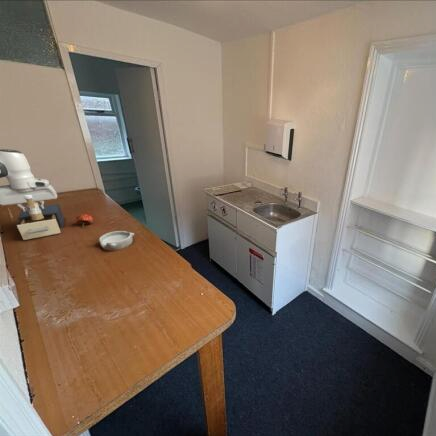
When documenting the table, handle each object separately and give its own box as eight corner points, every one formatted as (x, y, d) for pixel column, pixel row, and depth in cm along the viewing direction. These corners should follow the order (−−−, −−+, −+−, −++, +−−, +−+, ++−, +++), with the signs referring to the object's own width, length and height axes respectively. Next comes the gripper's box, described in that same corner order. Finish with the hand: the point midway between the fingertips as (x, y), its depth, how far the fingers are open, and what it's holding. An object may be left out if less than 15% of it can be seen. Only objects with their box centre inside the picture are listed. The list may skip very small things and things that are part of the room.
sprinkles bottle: (29, 220, 119) (18, 195, 113) (36, 217, 123) (26, 192, 117) (39, 220, 119) (29, 195, 114) (46, 217, 124) (36, 192, 118)
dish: (117, 253, 110) (114, 244, 108) (93, 249, 112) (90, 240, 110) (141, 239, 123) (139, 231, 121) (119, 236, 125) (116, 228, 123)
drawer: (60, 236, 121) (54, 222, 118) (22, 243, 113) (15, 229, 109) (61, 223, 134) (56, 211, 131) (27, 229, 126) (21, 216, 123)
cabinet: (63, 227, 131) (57, 211, 128) (25, 234, 122) (17, 217, 119) (64, 218, 142) (58, 203, 139) (29, 224, 133) (22, 208, 130)
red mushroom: (93, 229, 135) (98, 215, 140) (82, 224, 129) (89, 208, 133) (80, 230, 135) (86, 216, 140) (69, 225, 129) (76, 209, 133)
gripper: (-12, 188, 105) (2, 216, 111) (51, 182, 118) (60, 207, 123) (-8, 185, 110) (5, 212, 115) (52, 179, 122) (61, 204, 127)
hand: (34, 209), depth 119 cm, fingers closed on sprinkles bottle, 4 cm apart
